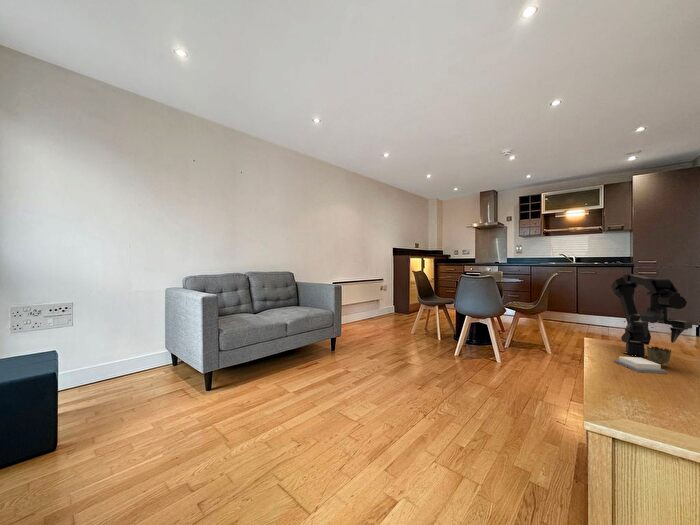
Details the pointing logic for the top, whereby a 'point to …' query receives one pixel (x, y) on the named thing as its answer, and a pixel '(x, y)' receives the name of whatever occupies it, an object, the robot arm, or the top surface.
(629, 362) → the stand
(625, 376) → the top surface
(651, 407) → the top surface
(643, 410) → the top surface
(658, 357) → the cup
